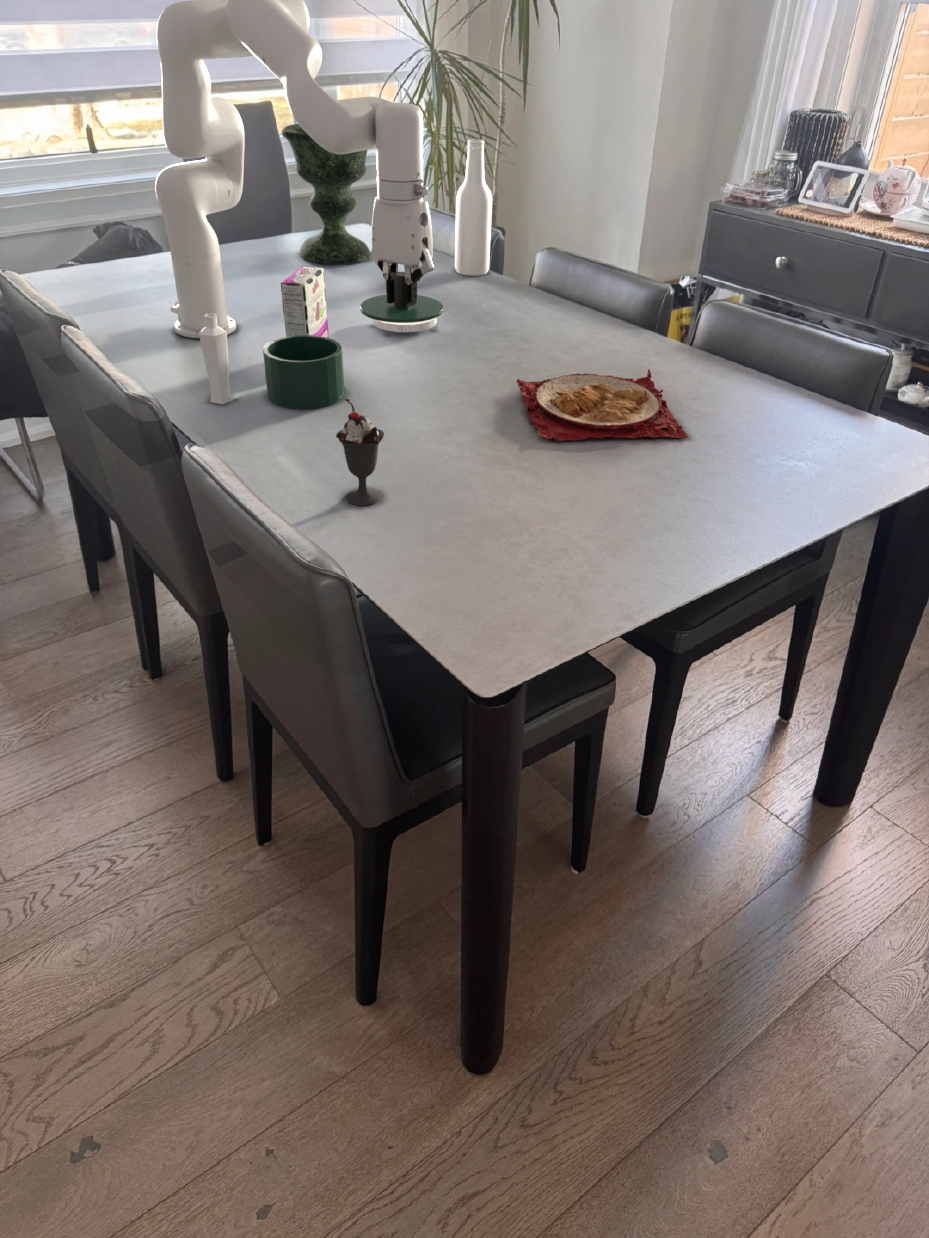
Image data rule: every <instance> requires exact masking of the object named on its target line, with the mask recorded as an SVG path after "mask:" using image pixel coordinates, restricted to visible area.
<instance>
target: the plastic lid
mask: <svg viewBox="0 0 929 1238" xmlns="http://www.w3.org/2000/svg"><path fill="white" fill-rule="evenodd" d="M437 320H438V317H436V318H434V319H431V320H427V321H421V322H413V323H393V322H384V321H379V320H375V319H371V318H370V321H371V324H372V325H373V326H374V327H376V328H378V329H380V330H383V331H387V332H393V333H417V332H422V331H427V330H429V329H430V330H431V329H432V328H434V327H435V326H436V325H437V322H438V321H437Z"/></svg>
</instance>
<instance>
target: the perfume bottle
mask: <svg viewBox="0 0 929 1238" xmlns="http://www.w3.org/2000/svg"><path fill="white" fill-rule="evenodd" d="M204 317H205V322H206V327H205V328H203V329H202V330H201V331H200V333H199V337H200V338H199V340H200V346H201V350H202V355H203V360H204V364H205V370H206V373H207V379H208V384H209V387H210V392H211V394H210V403H212V404H218V405H224V404H227V403H229V402H232V401H233V400H234V399H233V396H232V394H231V390H230V389H231V388H230V370H229V351H228V348H229V347H228V334H227V332H226V331H225V330H223V329H222V328H221V327H218V325H217V318H216V317H217V315H216V314H214V313H211V314H205V315H204Z"/></svg>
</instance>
